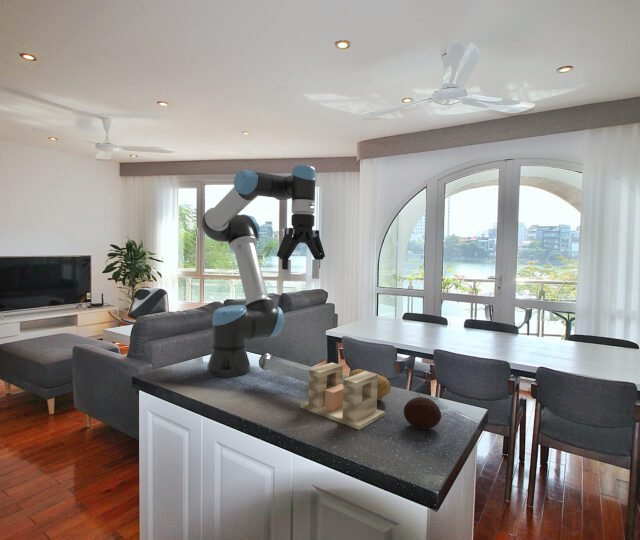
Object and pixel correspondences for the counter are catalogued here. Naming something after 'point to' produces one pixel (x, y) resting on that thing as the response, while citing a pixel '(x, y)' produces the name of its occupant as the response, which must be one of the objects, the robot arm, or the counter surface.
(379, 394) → the potato
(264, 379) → the counter surface
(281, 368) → the shaft
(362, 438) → the counter surface
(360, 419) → the bearing stand
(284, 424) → the counter surface
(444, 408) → the counter surface
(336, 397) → the spacer
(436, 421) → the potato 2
